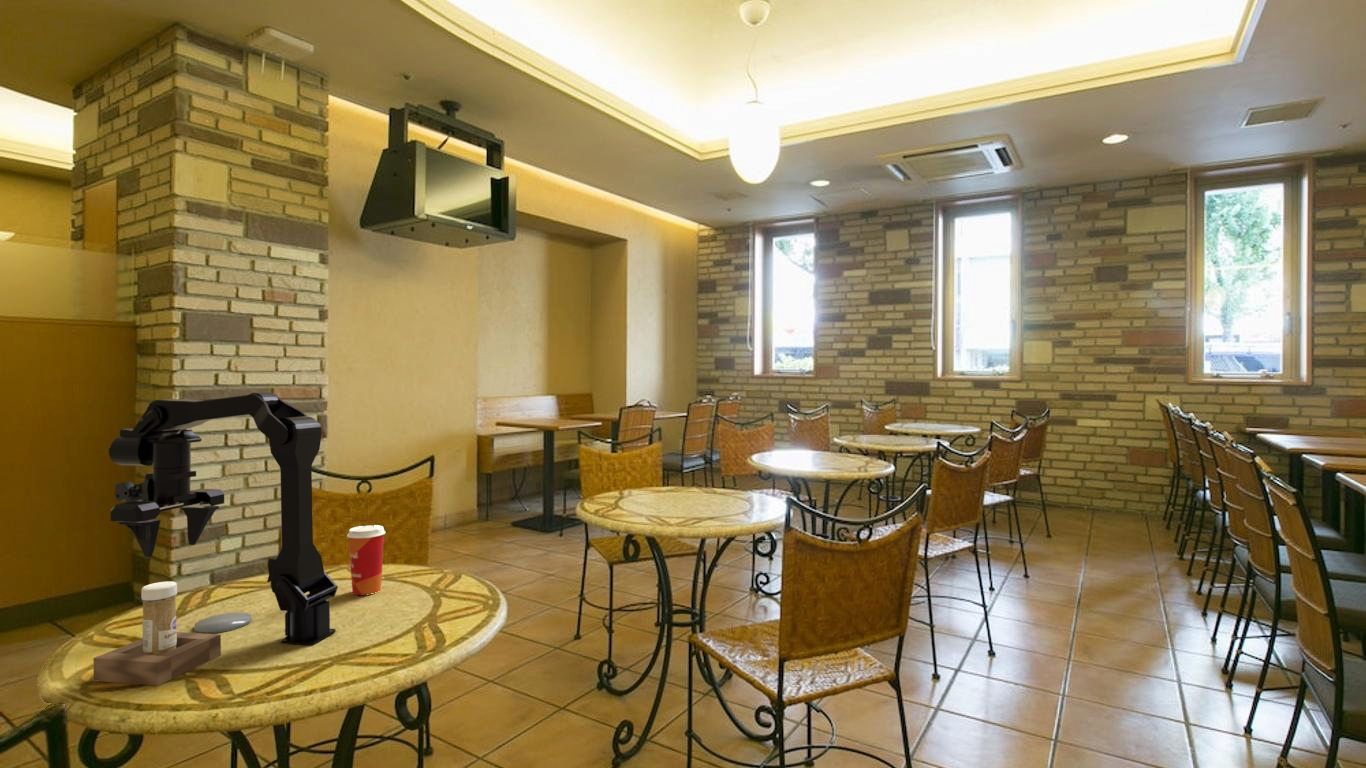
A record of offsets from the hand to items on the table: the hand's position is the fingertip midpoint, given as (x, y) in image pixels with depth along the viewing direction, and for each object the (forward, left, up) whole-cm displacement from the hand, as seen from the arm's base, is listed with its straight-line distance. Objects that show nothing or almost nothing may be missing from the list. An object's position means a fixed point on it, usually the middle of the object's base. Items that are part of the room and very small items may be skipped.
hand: (171, 550), depth 126 cm
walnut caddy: (-13, +14, -15) cm, 24 cm away
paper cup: (-22, -27, -15) cm, 37 cm away
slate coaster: (-7, -4, -15) cm, 17 cm away
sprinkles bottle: (-13, +14, -15) cm, 24 cm away
